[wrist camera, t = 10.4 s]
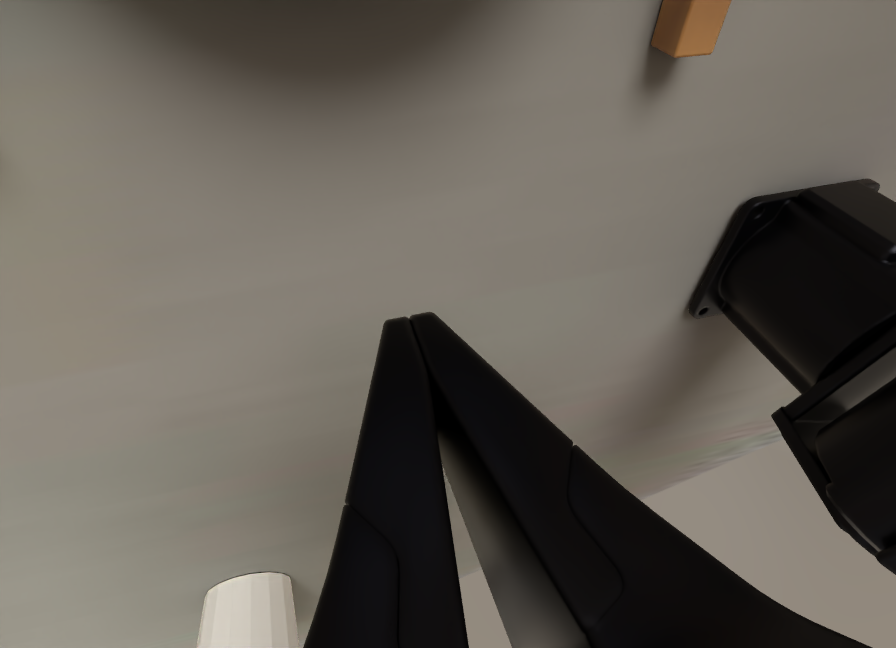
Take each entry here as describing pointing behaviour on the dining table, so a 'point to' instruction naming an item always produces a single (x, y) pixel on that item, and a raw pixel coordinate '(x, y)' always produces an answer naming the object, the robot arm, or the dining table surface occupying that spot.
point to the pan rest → (689, 26)
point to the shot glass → (250, 613)
